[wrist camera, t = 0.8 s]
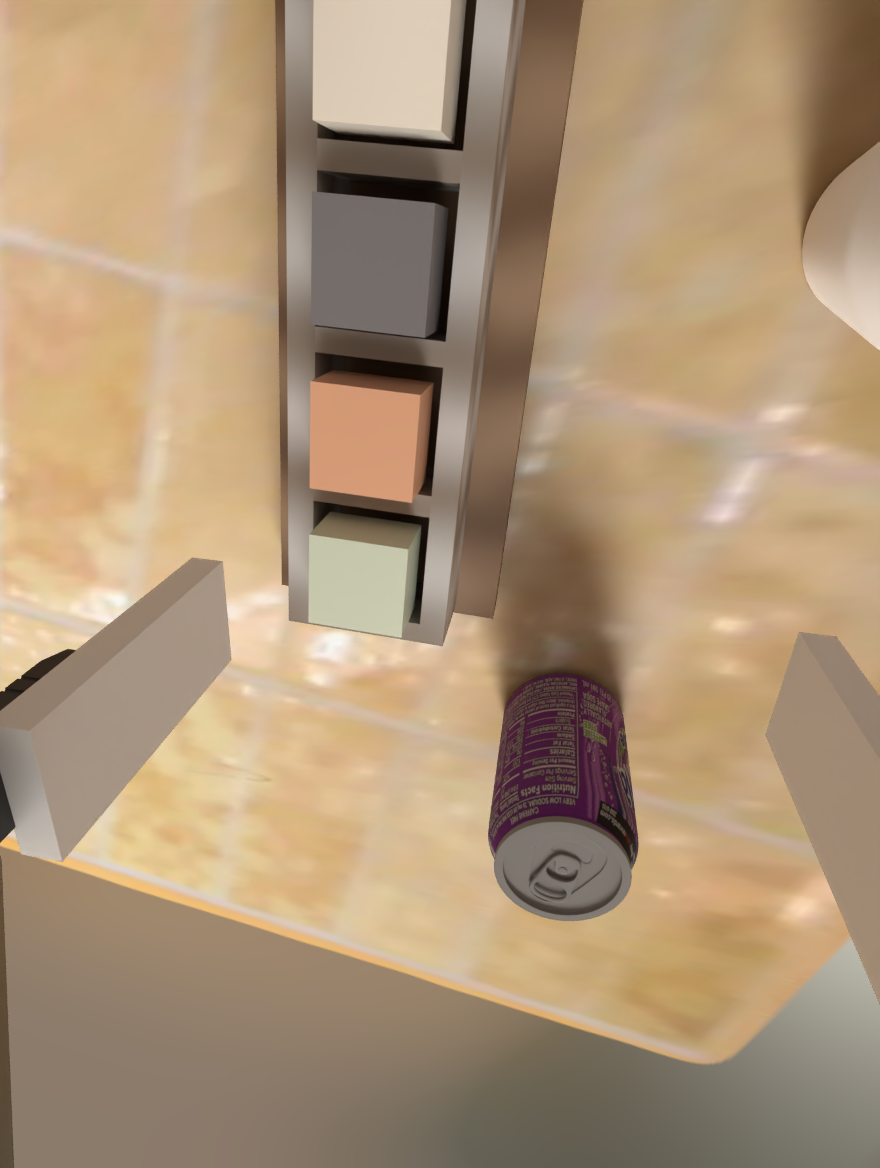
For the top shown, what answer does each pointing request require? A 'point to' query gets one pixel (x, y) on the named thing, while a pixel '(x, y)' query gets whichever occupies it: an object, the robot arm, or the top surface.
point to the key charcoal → (377, 263)
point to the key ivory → (388, 67)
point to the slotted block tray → (468, 299)
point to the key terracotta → (369, 434)
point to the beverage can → (563, 800)
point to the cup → (848, 246)
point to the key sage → (363, 573)
